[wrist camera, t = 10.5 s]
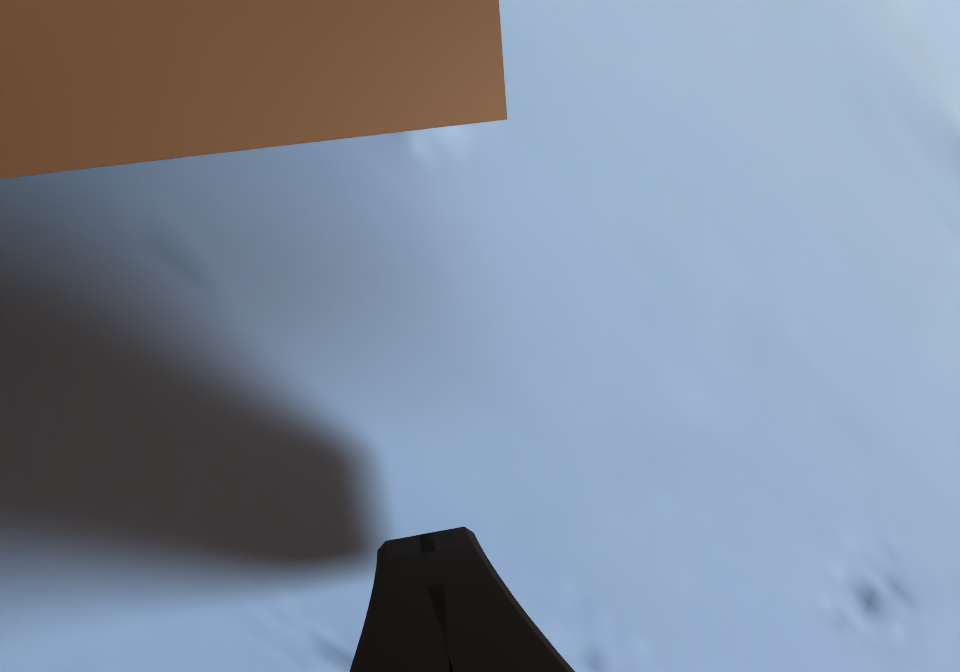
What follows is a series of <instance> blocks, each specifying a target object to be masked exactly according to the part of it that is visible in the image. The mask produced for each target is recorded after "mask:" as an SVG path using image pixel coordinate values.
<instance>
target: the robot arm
mask: <svg viewBox="0 0 960 672" xmlns="http://www.w3.org/2000/svg"><path fill="white" fill-rule="evenodd" d="M350 672H575V671H574V670H573V669H572V668H571V667H570V666H569V664H568V663H567V662H566V661H565V660H564V659H563V658H562V656H561V655H560V654H559V653H558V652H557V651H556V649H555V648H554V647H553V646H552V644H551V643H550V642H549V641H548V639H547V638H546V637H545V636H544V635H543V633H542V632H541V631H540V630H539V628H538V627H537V626H536V625H535V624H534V622H533V621H532V620H531V619H530V617H529V616H528V615H527V614H526V612H525V611H524V610H523V608H522V607H521V606H520V604H519V603H518V602H517V600H516V599H515V598H514V596H513V595H512V594H511V592H510V591H509V589H508V588H507V586H506V585H505V584H504V582H503V581H502V579H501V578H500V577H499V575H498V574H497V572H496V571H495V569H494V567H493V566H492V564H491V563H490V561H489V560H488V558H487V556H486V555H485V553H484V551H483V550H482V548H481V546H480V544H479V542H478V541H477V539H476V536H475V534H474V533H473V532H472V531H470V530H469V529H467V528H466V527H460V528H454V529H449V530H443V531H438V532H432V533H427V534H421V535H416V536H411V537H405V538H400V539H394V540H389V541H385V542H384V544H383V545H382V546H381V547H380V548H379V549H378V552H377V566H376V572H375V579H374V584H373V589H372V594H371V599H370V603H369V607H368V611H367V615H366V619H365V623H364V626H363V630H362V633H361V637H360V640H359V643H358V646H357V649H356V653H355V656H354V659H353V662H352V666H351V669H350Z"/></svg>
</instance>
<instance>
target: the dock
mask: <svg viewBox="0 0 960 672" xmlns="http://www.w3.org/2000/svg"><path fill="white" fill-rule="evenodd" d="M506 119H507V111H506V97H505V83H504V69H503V55H502V41H501V27H500V13H499V0H0V178H9V177H18V176H26V175H35V174H43V173H52V172H60V171H69V170H78V169H86V168H95V167H103V166H112V165H120V164H129V163H137V162H146V161H155V160H163V159H172V158H180V157H189V156H197V155H206V154H215V153H223V152H232V151H240V150H249V149H257V148H266V147H275V146H283V145H292V144H300V143H309V142H317V141H326V140H334V139H343V138H352V137H360V136H369V135H377V134H386V133H394V132H403V131H412V130H420V129H429V128H437V127H446V126H454V125H463V124H472V123H480V122H489V121H497V120H506Z"/></svg>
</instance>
